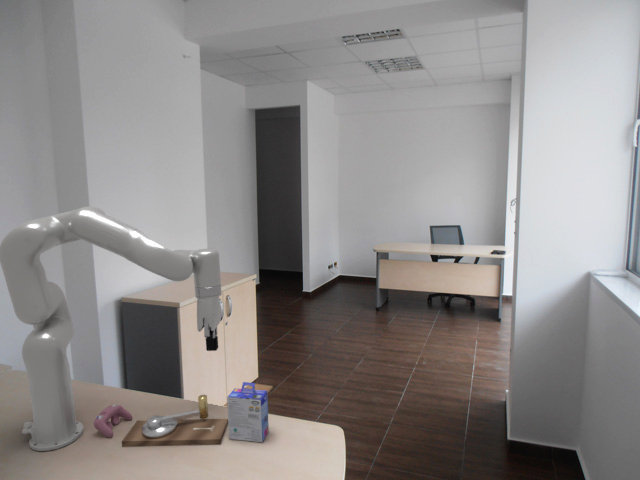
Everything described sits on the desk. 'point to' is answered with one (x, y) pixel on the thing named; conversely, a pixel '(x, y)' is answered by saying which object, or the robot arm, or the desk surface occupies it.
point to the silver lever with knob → (172, 420)
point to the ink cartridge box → (248, 414)
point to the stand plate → (181, 434)
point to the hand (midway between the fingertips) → (212, 349)
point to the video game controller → (114, 414)
